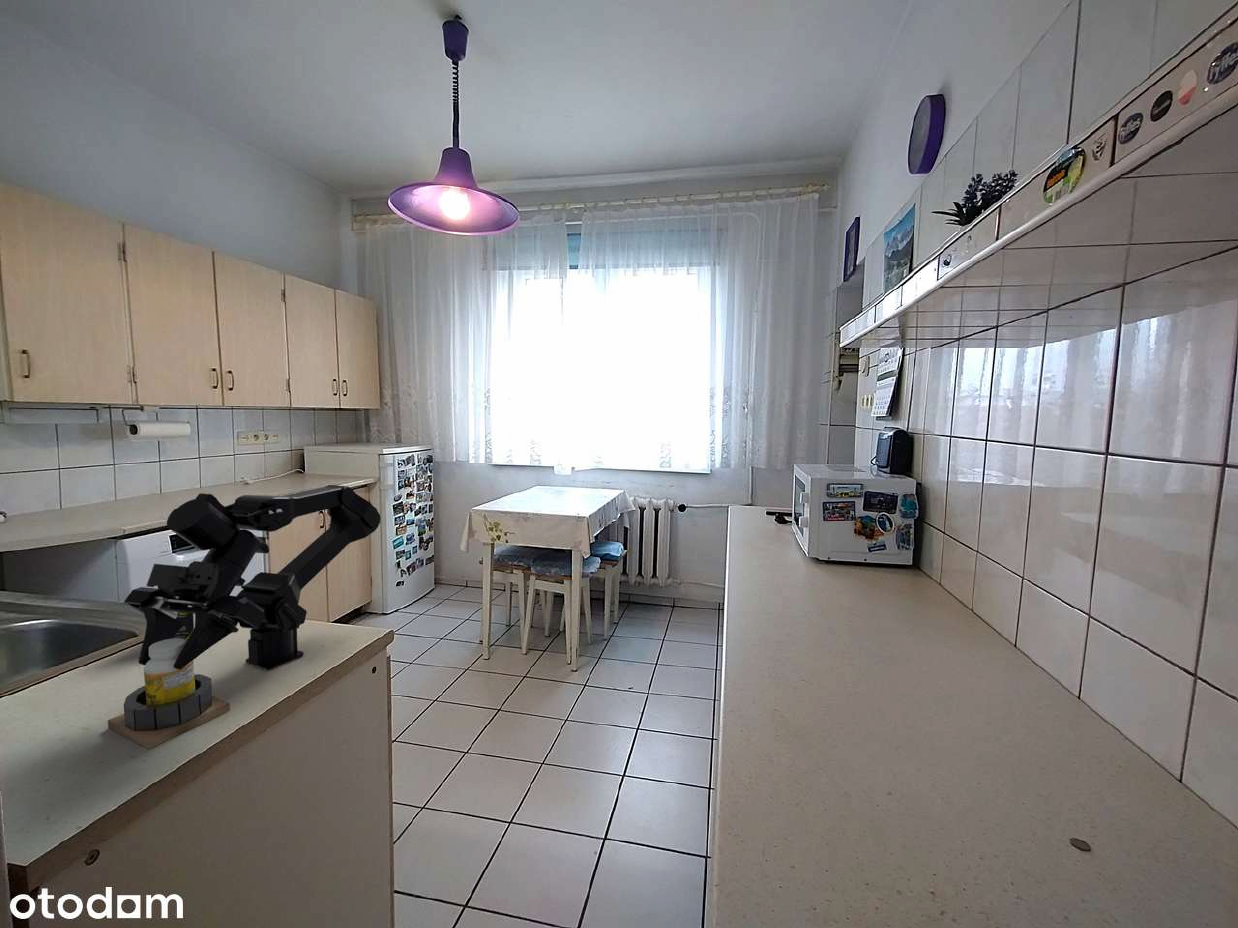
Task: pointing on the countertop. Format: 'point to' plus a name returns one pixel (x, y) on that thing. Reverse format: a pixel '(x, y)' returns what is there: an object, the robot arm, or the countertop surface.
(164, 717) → the socket holder
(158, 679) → the supplement bottle
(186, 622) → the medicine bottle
